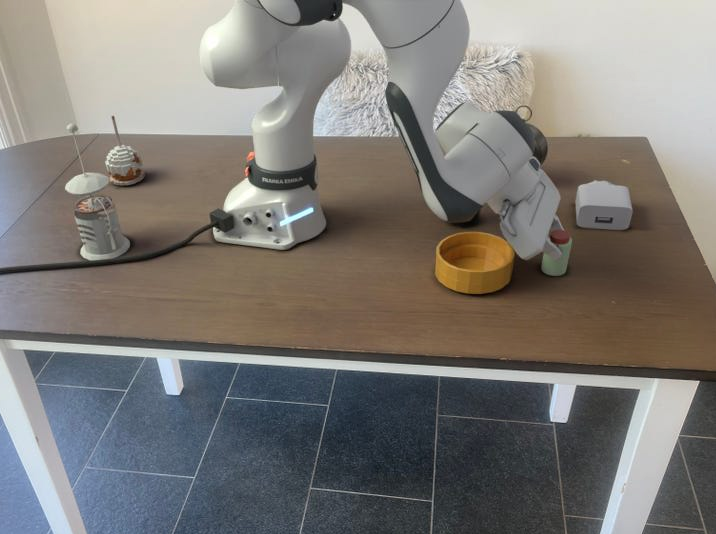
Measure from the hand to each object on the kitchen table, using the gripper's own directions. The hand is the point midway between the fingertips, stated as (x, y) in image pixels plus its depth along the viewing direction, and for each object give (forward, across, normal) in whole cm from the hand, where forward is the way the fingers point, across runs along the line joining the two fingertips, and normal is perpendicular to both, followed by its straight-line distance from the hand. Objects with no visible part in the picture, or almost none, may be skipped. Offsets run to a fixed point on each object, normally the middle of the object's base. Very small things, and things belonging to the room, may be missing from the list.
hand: (561, 248), depth 122 cm
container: (+3, 0, +4) cm, 4 cm away
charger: (+6, +24, 0) cm, 25 cm away
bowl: (-6, -6, +13) cm, 15 cm away
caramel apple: (-65, +8, +72) cm, 97 cm away
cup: (-11, +12, +17) cm, 24 cm away
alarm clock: (-6, +32, +13) cm, 35 cm away
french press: (-55, -19, +62) cm, 85 cm away
